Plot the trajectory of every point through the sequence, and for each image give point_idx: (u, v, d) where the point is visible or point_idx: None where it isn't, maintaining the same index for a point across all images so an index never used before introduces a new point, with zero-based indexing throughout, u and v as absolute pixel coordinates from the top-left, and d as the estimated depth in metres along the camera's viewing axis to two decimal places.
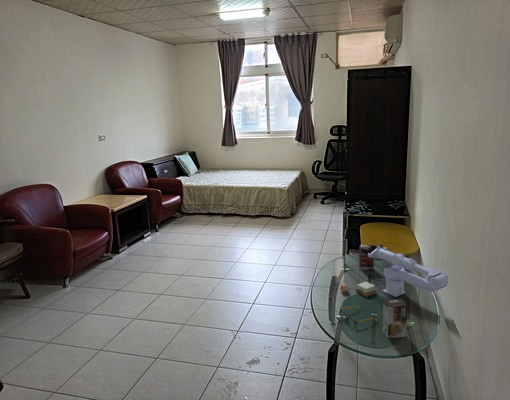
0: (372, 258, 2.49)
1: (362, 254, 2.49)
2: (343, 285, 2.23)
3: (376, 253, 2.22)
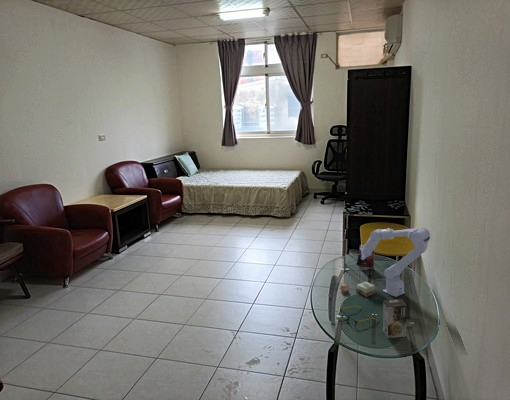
0: (372, 258, 2.49)
1: None
2: (343, 285, 2.23)
3: (365, 252, 2.25)
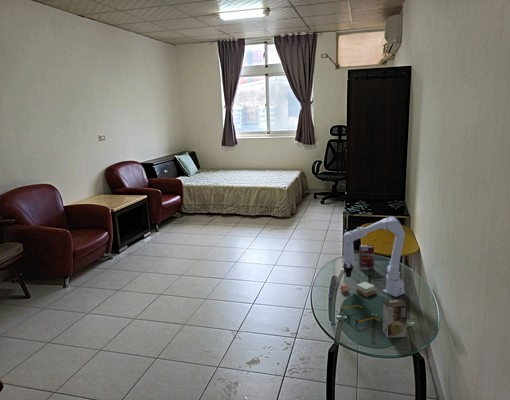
0: (372, 258, 2.49)
1: (362, 254, 2.49)
2: (343, 285, 2.23)
3: (347, 260, 2.19)
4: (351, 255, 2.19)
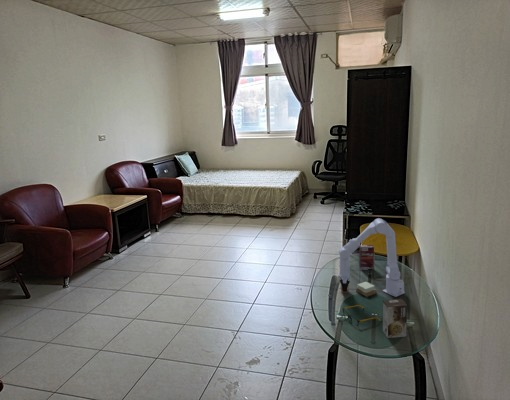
0: (372, 258, 2.49)
1: (362, 254, 2.49)
2: None
3: (343, 275, 2.18)
4: (347, 270, 2.18)
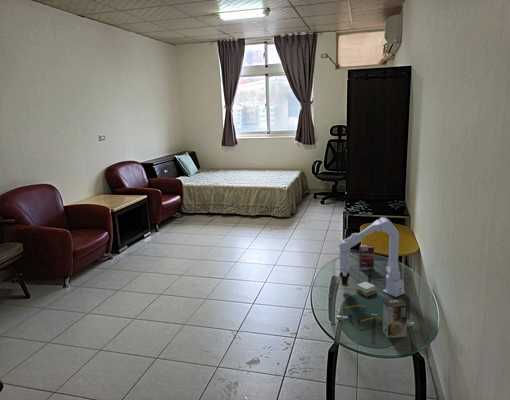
0: (372, 258, 2.49)
1: (362, 254, 2.49)
2: None
3: (343, 268, 2.17)
4: (347, 263, 2.17)
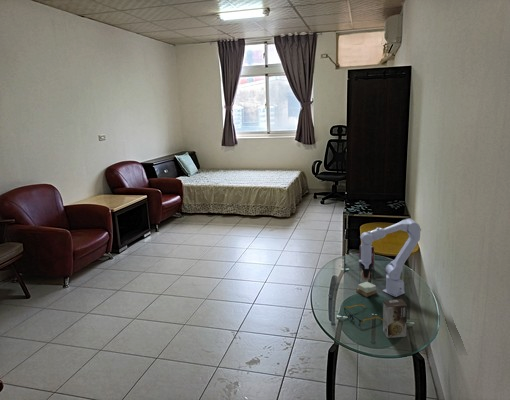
0: (372, 258, 2.49)
1: None
2: None
3: (365, 261, 2.14)
4: (369, 256, 2.14)
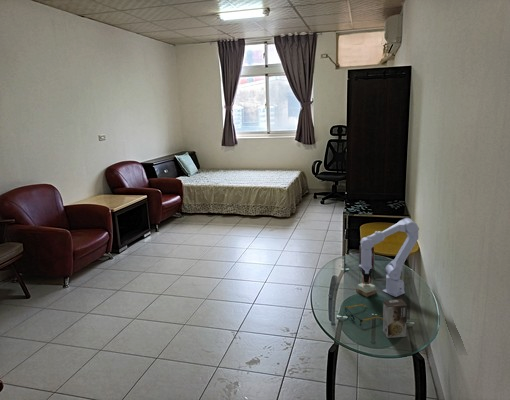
0: (372, 258, 2.49)
1: None
2: None
3: (365, 266, 2.15)
4: (369, 261, 2.14)
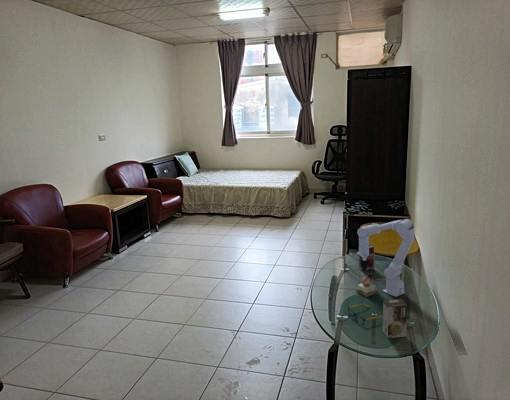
0: (372, 258, 2.49)
1: None
2: (365, 278, 2.20)
3: (363, 253, 2.26)
4: (367, 248, 2.25)
